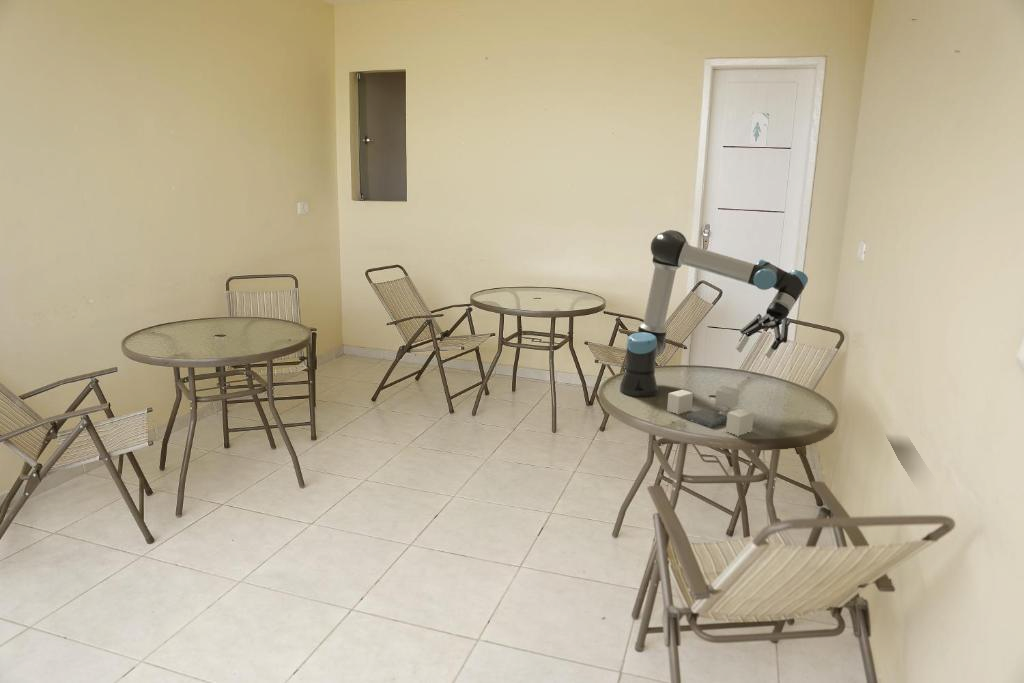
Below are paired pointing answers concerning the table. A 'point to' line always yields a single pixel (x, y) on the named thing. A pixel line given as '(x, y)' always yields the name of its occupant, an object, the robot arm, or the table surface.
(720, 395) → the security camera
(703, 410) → the mount plate
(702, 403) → the table surface
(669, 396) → the mounted modules
